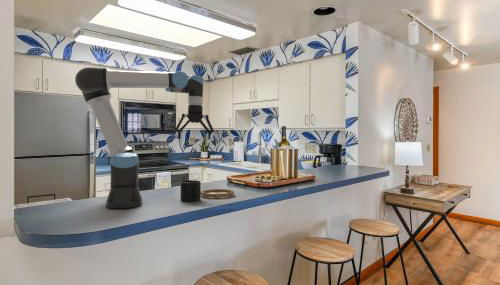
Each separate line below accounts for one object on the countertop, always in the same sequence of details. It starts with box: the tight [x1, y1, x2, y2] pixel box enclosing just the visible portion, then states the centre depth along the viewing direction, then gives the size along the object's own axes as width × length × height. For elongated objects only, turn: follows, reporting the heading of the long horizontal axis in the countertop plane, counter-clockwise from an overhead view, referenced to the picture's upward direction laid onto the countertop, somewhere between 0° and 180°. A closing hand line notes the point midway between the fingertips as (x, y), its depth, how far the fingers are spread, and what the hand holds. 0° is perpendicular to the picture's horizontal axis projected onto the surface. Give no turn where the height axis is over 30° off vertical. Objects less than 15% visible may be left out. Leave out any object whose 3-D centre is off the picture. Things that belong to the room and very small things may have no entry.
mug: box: [180, 179, 202, 203], centre depth 147 cm, size 9×12×9 cm
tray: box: [201, 188, 235, 200], centre depth 161 cm, size 17×17×2 cm
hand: (194, 145), depth 163 cm, fingers open, 13 cm apart
